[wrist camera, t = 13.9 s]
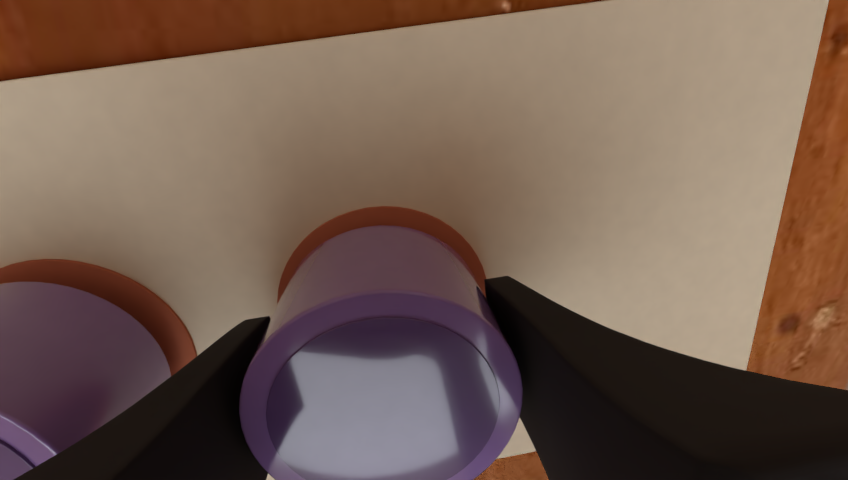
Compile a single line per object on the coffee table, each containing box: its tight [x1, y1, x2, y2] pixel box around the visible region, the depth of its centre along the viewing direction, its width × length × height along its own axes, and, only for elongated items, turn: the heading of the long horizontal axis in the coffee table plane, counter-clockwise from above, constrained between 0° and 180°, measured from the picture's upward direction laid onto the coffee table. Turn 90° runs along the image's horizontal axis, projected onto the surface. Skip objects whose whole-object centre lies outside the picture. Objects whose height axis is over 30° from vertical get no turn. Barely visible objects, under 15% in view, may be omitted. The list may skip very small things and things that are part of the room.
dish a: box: [0, 282, 171, 480], centre depth 9 cm, size 5×5×4 cm
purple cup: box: [239, 225, 523, 480], centre depth 9 cm, size 5×5×4 cm
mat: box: [0, 0, 829, 480], centre depth 11 cm, size 24×14×1 cm, turn 97°
